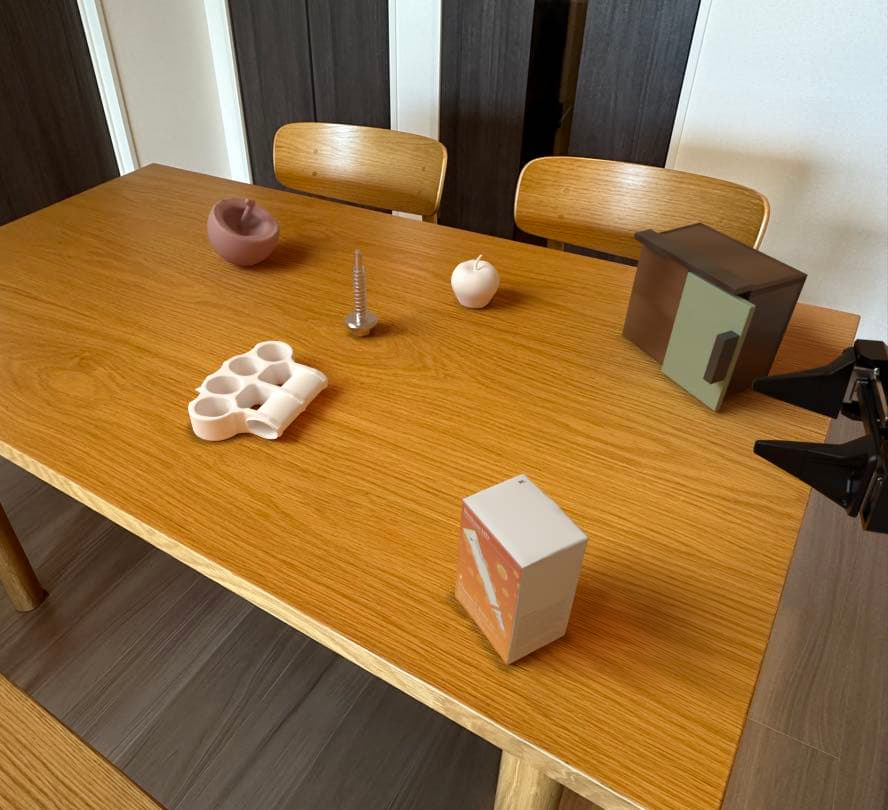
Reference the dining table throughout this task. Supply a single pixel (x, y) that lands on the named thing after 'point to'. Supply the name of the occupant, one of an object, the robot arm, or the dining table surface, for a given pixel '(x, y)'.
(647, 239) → the cupboard
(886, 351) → the robot arm
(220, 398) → the white brass knuckles
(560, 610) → the small box
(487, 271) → the apple
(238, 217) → the mortar and pestle
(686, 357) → the sliding door
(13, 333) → the dining table surface
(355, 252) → the screw
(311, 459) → the dining table surface
